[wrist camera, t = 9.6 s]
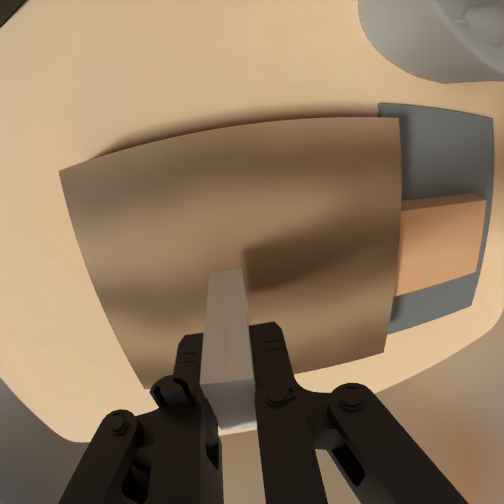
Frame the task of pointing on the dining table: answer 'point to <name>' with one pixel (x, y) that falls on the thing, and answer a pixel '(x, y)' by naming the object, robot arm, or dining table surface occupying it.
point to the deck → (246, 235)
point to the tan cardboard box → (438, 240)
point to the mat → (442, 192)
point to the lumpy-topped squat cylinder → (438, 37)
